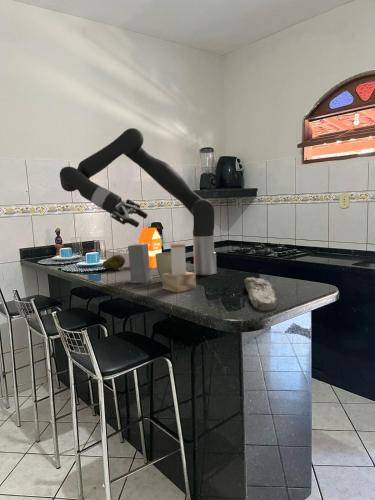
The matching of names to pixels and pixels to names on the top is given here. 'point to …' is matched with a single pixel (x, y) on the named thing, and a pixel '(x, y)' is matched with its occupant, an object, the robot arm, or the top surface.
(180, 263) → the canister
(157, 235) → the orange juice
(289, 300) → the top surface
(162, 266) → the mug
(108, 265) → the potato
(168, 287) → the oak block
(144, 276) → the skincare box
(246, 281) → the long grey stone
